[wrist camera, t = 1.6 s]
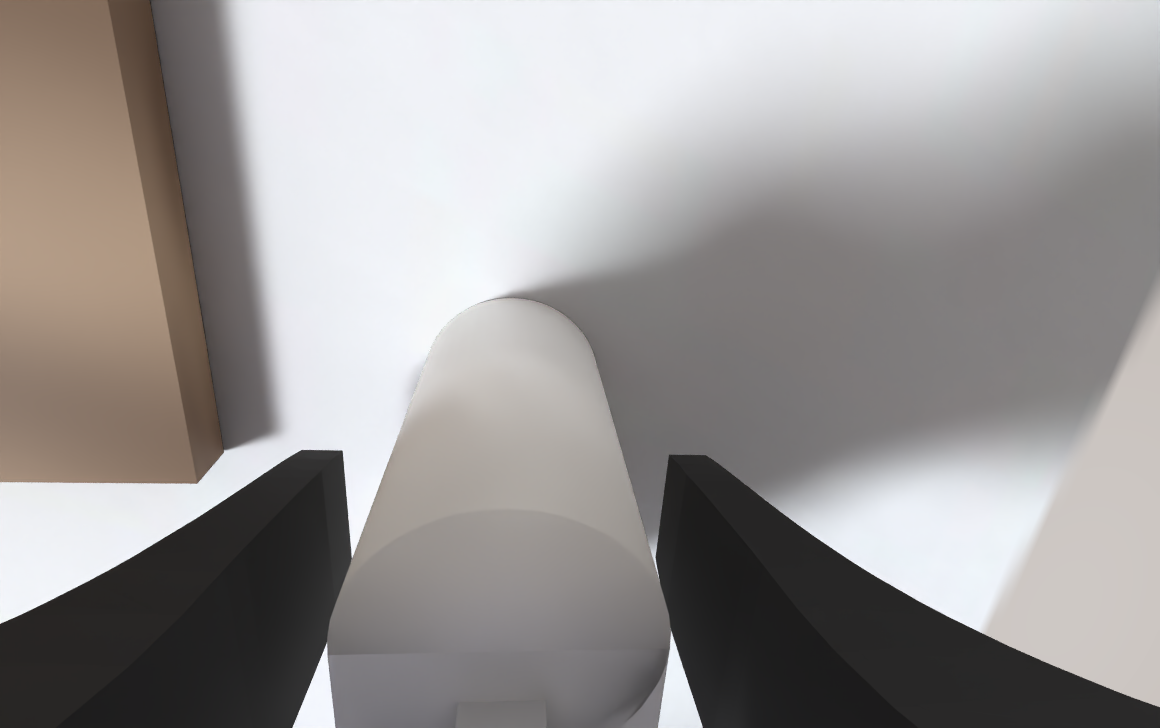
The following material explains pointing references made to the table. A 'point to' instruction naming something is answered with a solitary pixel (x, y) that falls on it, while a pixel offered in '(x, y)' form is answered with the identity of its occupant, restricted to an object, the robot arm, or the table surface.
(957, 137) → the table surface
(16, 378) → the walnut board
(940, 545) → the table surface
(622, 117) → the table surface
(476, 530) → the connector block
